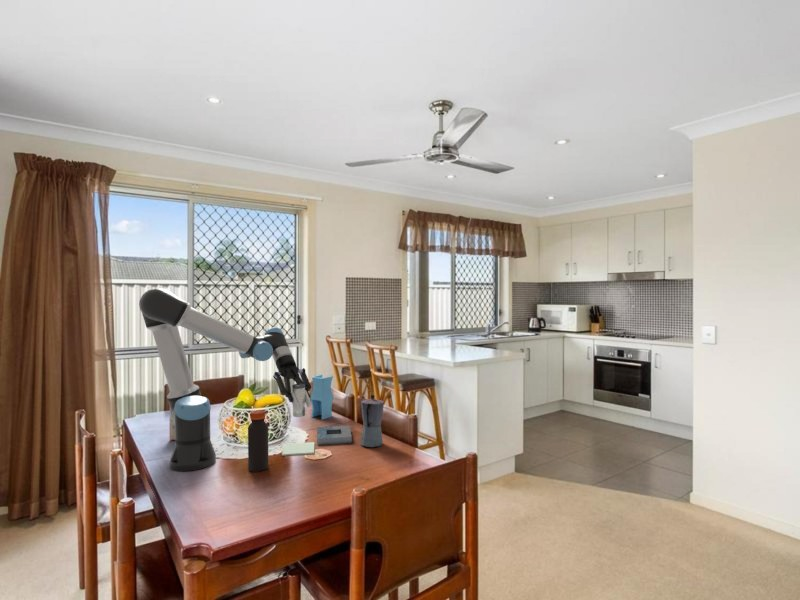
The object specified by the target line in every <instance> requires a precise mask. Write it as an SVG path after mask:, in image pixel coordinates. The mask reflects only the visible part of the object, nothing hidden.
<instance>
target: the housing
mask: <svg viewBox="0 0 800 600" xmlns="http://www.w3.org/2000/svg"><path fill="white" fill-rule="evenodd" d="M316 432H317V433H316V445H317V446H321V445H322V446H323V445H324V446H325V445H339V444H352V442H353V441H352V439H353V438H352V436H353V435H352V432H351V426H350V425H336V426H335V425H333V426H318V427H317V430H316Z"/></svg>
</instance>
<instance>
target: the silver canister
mask: <svg viewBox="0 0 800 600" xmlns="http://www.w3.org/2000/svg"><path fill="white" fill-rule="evenodd" d="M291 392H293V393H294V395H295V397H296V400H297V402H298V405H299V407H298V409H297V410H295V409H294V407H293V406H292V416H293V418H294V417H295V418H300V417H301V418H302V417H305V416H306V402H305V384H297V383H295V384H292V387H291Z"/></svg>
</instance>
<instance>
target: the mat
mask: <svg viewBox="0 0 800 600" xmlns="http://www.w3.org/2000/svg"><path fill="white" fill-rule="evenodd" d="M315 443H316V442H315V441H312V442H311V441H310V442H309V441H308V442H292V443H284V444H283V448H282V453H281V457H282V456H284V457H285V456H299V455H301V456H302V455H314V454H315V447H316V446H315Z"/></svg>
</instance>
